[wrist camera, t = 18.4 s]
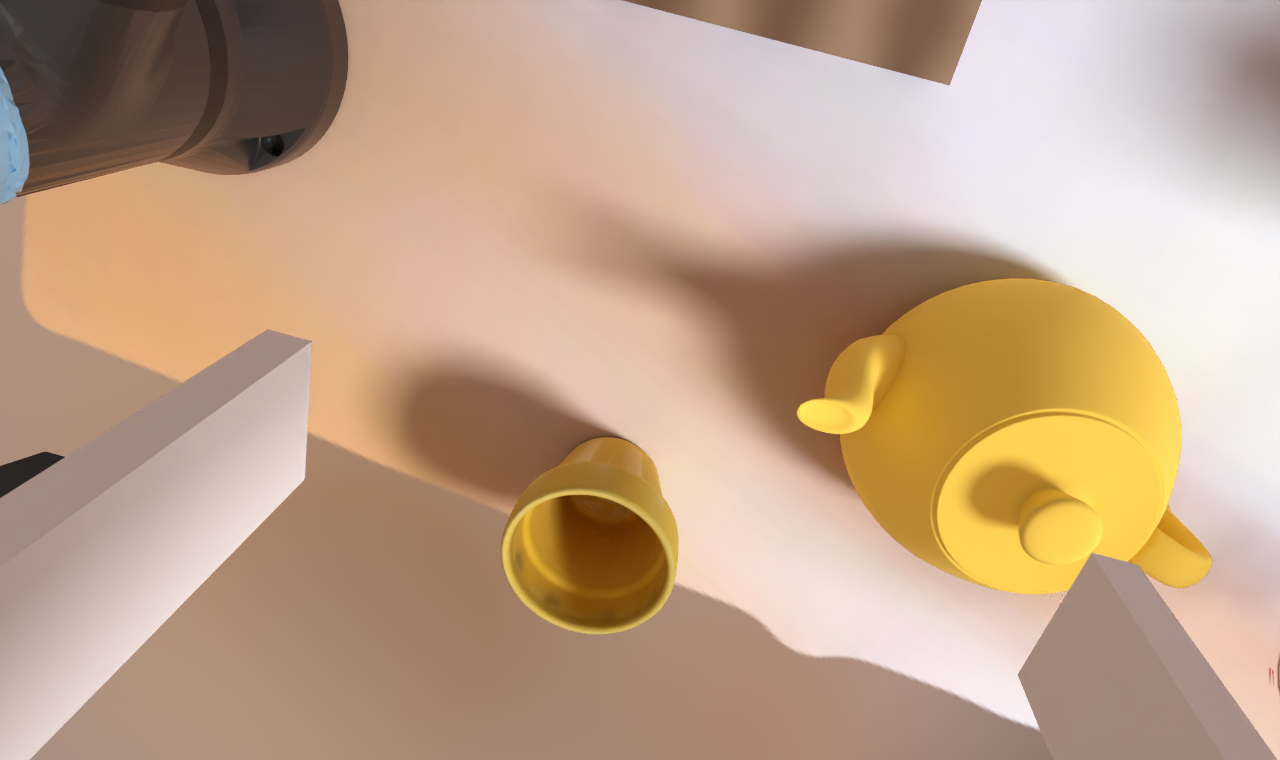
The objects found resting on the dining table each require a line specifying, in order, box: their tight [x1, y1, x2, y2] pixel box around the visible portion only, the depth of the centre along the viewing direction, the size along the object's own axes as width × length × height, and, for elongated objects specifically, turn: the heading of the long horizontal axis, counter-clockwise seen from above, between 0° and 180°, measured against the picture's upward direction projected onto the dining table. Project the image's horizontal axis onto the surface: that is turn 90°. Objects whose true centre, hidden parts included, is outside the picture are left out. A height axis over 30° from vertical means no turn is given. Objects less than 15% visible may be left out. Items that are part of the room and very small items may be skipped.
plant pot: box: [501, 437, 678, 634], centre depth 50 cm, size 10×10×10 cm
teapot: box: [796, 278, 1212, 594], centre depth 42 cm, size 25×18×14 cm
